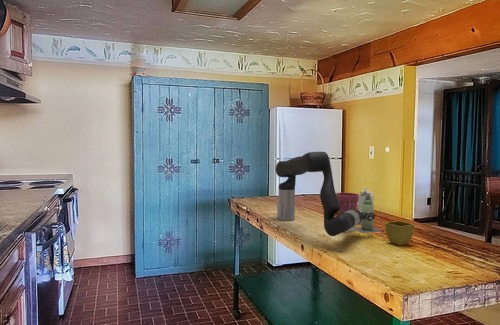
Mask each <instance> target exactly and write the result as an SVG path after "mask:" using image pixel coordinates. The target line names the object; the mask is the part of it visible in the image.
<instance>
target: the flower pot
mask: <svg viewBox="0 0 500 325" xmlns="http://www.w3.org/2000/svg"><path fill="white" fill-rule="evenodd" d="M384 227H385V234H386V238H388V241H389V242H390V243H391V244H395V245H397V246H403V245H408V244H409V243H410V242H411V240H412V238H413V234H414V230H415V224H414V223H409V222H406V221H401V220H394V221H388V222H385V223H384Z"/></svg>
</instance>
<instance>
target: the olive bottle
mask: <svg viewBox="0 0 500 325" xmlns="http://www.w3.org/2000/svg"><path fill="white" fill-rule="evenodd" d="M371 193H372V192H370V193H366V197H365V199H364V203H362V212H367V213H370V212H373V213H375V211H374V207H375V206H374V203H373V204H372V200H370V198H371ZM364 215H365V214H364ZM368 215H369V214H368ZM360 224H361V226H360V227H361V229H362V230H364V231H372V230H373V228H374V220H371V221H368V219H367V220H362V223H360Z"/></svg>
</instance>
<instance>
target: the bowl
mask: <svg viewBox="0 0 500 325" xmlns="http://www.w3.org/2000/svg"><path fill="white" fill-rule="evenodd" d="M356 227H357V226H355V227H353V228H350V229H349V230H347V231H345V232H344V233H350V232H351V233H352V232H355V231H356Z"/></svg>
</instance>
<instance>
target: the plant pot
mask: <svg viewBox="0 0 500 325" xmlns="http://www.w3.org/2000/svg"><path fill="white" fill-rule="evenodd" d="M335 193H336V196H337V199H338V202H339V205H340V210H339V211H338V215H340V214H342V212H343V211H345V210H348V211H349V210H351V209H357V207H358V196H359V195H360V194H359V193H355V192H335Z"/></svg>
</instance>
